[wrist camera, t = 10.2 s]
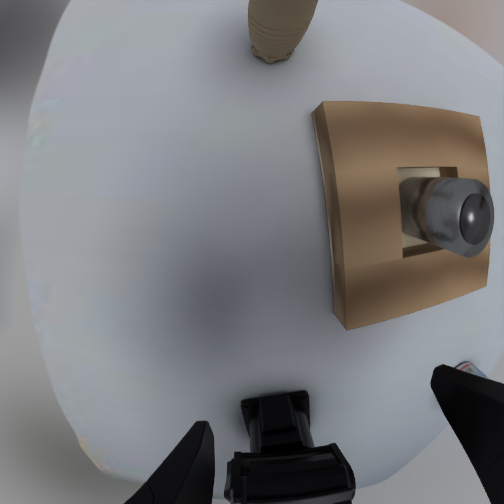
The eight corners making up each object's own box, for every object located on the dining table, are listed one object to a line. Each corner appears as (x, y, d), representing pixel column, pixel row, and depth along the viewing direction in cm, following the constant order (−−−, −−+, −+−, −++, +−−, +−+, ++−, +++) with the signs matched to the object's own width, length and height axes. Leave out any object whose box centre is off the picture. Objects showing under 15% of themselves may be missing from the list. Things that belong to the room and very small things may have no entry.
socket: (437, 233, 20) (494, 253, 13) (393, 239, 20) (450, 264, 13) (435, 176, 19) (496, 179, 12) (390, 177, 19) (451, 178, 12)
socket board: (468, 277, 22) (486, 286, 19) (334, 313, 22) (346, 330, 19) (459, 120, 18) (479, 116, 15) (311, 113, 18) (322, 101, 15)
